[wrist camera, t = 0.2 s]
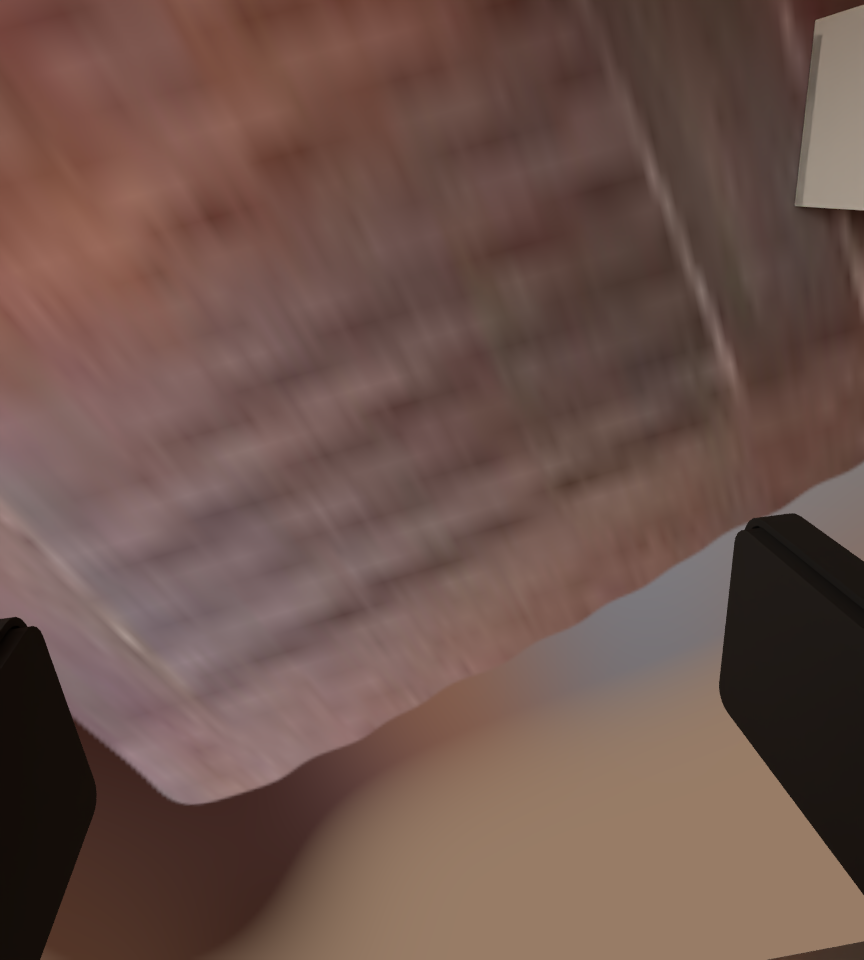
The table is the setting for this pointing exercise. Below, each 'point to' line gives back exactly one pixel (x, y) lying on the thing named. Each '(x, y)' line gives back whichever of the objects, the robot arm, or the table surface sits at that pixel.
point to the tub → (834, 116)
